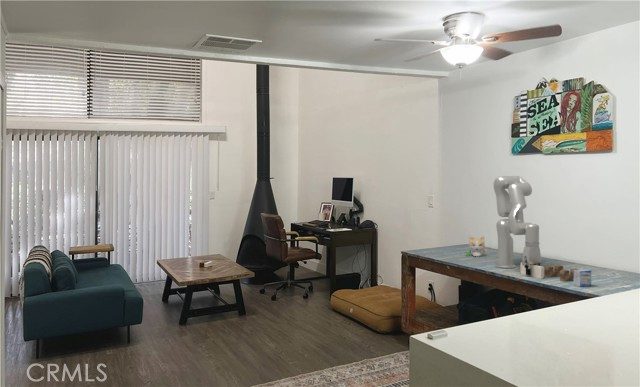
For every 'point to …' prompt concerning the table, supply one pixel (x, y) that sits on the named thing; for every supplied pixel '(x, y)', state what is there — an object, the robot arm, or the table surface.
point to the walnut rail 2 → (567, 275)
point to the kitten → (476, 246)
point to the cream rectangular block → (534, 271)
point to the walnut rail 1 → (553, 271)
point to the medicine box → (582, 278)
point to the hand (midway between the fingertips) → (531, 274)
